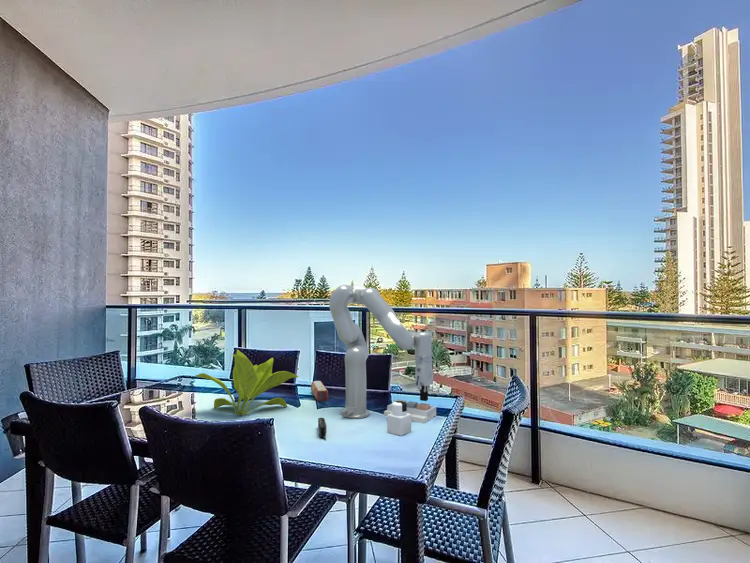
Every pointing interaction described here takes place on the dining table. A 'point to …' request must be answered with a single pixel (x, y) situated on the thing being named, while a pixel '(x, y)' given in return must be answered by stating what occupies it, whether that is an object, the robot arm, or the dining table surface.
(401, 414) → the medicine bottle
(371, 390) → the dining table surface
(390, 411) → the white shallow tray
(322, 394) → the snack package
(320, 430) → the mobile phone
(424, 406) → the terracotta key
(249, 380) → the artificial plant
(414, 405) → the slate key
